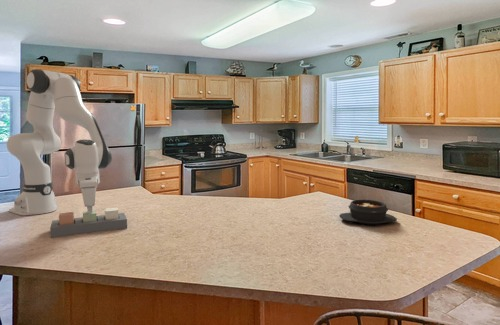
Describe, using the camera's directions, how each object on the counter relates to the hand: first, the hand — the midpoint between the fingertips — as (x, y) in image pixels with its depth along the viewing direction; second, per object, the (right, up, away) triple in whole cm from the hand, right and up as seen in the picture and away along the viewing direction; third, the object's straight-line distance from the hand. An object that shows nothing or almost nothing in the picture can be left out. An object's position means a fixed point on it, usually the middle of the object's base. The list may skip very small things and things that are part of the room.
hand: (89, 212), depth 144 cm
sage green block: (0, -5, +1) cm, 5 cm away
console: (0, -7, +1) cm, 7 cm away
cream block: (+7, -4, +4) cm, 10 cm away
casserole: (+119, -6, +13) cm, 120 cm away
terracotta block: (-8, -5, -3) cm, 10 cm away
